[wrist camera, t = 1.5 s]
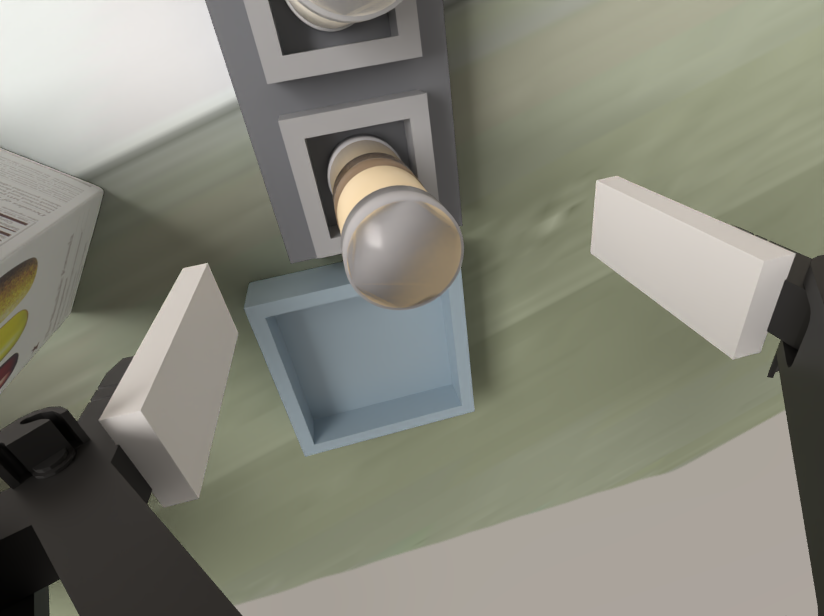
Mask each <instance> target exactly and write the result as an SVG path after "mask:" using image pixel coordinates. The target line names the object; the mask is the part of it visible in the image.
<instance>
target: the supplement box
mask: <svg viewBox="0 0 824 616" xmlns="http://www.w3.org/2000/svg"><path fill="white" fill-rule="evenodd" d="M103 193H104V192H103V189H102V188H100V187H98V186H96V185H93V184H91V183H89V182H86V181H84V180H81V179H79V178H76V177H73V176H71V175H68V174H66V173H63V172H61V171H58V170H56V169H53V168H50V167H48V166H45V165H43V164H40V163H38V162H35V161H33V160H30V159H27V158H25V157H22V156H20V155H17V154H15V153H12V152H9V151H7V150H4V149H2V148H0V394H1V393H2V391H3V390H4V389H5V388H6V387H7V386H8V384H9V383H10V382H11V381H12V380H13V379H14V378H15V376H16V375H17V374H18V373H19V372H20V371H21V370H22V369H23V367H24V366H25V365H26V364H27V363H28V362H29V361H30V359H31V358H32V357H33V356H34V355H35V354H36V353H37V351H38V350H39V349H40V348H41V347H42V346H43V345H44V343H45V342H46V341H47V340H48V339H49V338H50V337H51V335H52V334H53V333H54V332H55V331H56V330H57V329H58V327H59V326H60V325H61V324H62V323H63V322H64V321H65V319H66V318H67V317H68V316H69V315H70V313H71V310H72V307H73V303H74V299H75V296H76V292H77V289H78V285H79V282H80V278H81V274H82V271H83V267H84V263H85V260H86V256H87V252H88V249H89V245H90V242H91V238H92V235H93V231H94V227H95V224H96V220H97V216H98V213H99V209H100V205H101V201H102V197H103Z"/></svg>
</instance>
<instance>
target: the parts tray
mask: <svg viewBox="0 0 824 616" xmlns="http://www.w3.org/2000/svg"><path fill="white" fill-rule="evenodd" d="M244 310H245V313H246V315H247V318H248V320H249V322H250V325H251V327H252V330H253V332H254V334H255V337H256V339H257V342H258V344H259V347H260V349H261V351H262V354H263V356H264V359H265V361H266V363H267V366H268V368H269V371H270V373H271V376H272V378H273V380H274V383H275V385H276V388H277V390H278V392H279V395H280V397H281V400H282V402H283V404H284V407H285V409H286V412H287V414H288V417H289V419H290V421H291V424H292V426H293V429H294V431H295V433H296V436H297V438H298V441H299V443H300V446H301V448H302V450H303V453H304V455H305V457H306V456H309V455H313V454H317V453H321V452H324V451H328V450H332V449H335V448H339V447H343V446H347V445H350V444H354V443H358V442H362V441H365V440H369V439H373V438H376V437H380V436H384V435H388V434H391V433H395V432H399V431H403V430H406V429H410V428H414V427H417V426H421V425H425V424H429V423H432V422H436V421H440V420H444V419H447V418H451V417H455V416H458V415H462V414H466V413H470V412H473V411H475V410H474V400H473V389H472V379H471V368H470V358H469V347H468V337H467V326H466V316H465V305H464V295H463V284H462V274H461V268H460V271H459V273H458V275H457V277H456V279H455V280H454V282H453V283H452V284H451V286H450V287H449V288H448V289H447V290H446V291H445V292H444V293H443V294H442V295H441V296H439V297H438V298H436V299H435V300H433V301H432V302H430V303H428V304H426V305H423V306H421V307H417V308H414V309H409V310H389V309H384V308H381V307H378V306H375V305H373V304H371V303H369V302H368V301H366V300H365V299H363V298H362V297H361V296H360V295H359V294H358V293H357V292H356V291H355V290H354V288H353V287H352V285H351V284H350V282H349V280H348V278H347V275H346V272H345V267H344V262H339V263H335V264H330V265H326V266H321V267H317V268H313V269H308V270H304V271H299V272H295V273H290V274H286V275H281V276H277V277H272V278H268V279H263V280H259V281H255V282H250V283H249V286H248V291H247V295H246V300H245V304H244Z"/></svg>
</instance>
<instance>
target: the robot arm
mask: <svg viewBox="0 0 824 616" xmlns="http://www.w3.org/2000/svg"><path fill="white" fill-rule="evenodd" d="M590 253H591V254H593V255H594V256H595V257H597V258H598V259H599V260H601V261H602V262H603V263H605V264H606V265H607V266H609V267H610V268H611V269H613V270H614V271H615V272H617V273H618V274H619V275H621V276H622V277H623V278H625V279H626V280H627V281H629V282H630V283H631V284H633V285H634V286H635V287H637V288H638V289H639V290H641V291H642V292H643V293H645V294H646V295H647V296H649V297H650V298H651V299H653V300H654V301H655V302H657V303H658V304H659V305H661V306H662V307H663V308H665V309H666V310H667V311H669V312H670V313H671V314H673V315H674V316H675V317H677V318H678V319H679V320H681V321H682V322H683V323H685V324H686V325H687V326H689V327H690V328H691V329H693V330H694V331H695V332H697V333H698V334H699V335H701V336H702V337H703V338H705V339H706V340H707V341H709V342H710V343H711V344H713V345H714V346H715V347H717V348H718V349H719V350H721V351H722V352H723V353H725V354H726V355H727V356H729V357H730V358H731V359H737V358H741V357H745V356H748V355H752V354H756V353H760V352H761V349H762V347H763V344H764V341H765V338H766V335H767V333H768V332H769V333H771V334H773V335H774V336H776V337H777V338H779V339H780V340H781V341H780V343H779V346H778V349H777V351H776V354H775V357H774V359H773V362H772V364H771V367H770V370H769V373H768V376H767V377H770V378H773V376H774V374H775V372H778V371H779V373H780V379H781V385H782V391H783V397H784V403H785V409H786V415H787V422H788V428H789V434H790V440H791V446H792V452H793V457H794V464H795V470H796V476H797V482H798V488H799V495H800V501H801V506H802V513H803V519H804V525H805V531H806V537H807V543H808V549H809V555H810V561H811V567H812V574H813V579H814V586H815V592H816V598H817V604H818V616H824V255H821V256H817V257H815V258H813V259H811V258H809V257H806V256H804V255H802V254H799V253H797V252H795V251H793V250H790V249H788V248H786V247H783V246H781V245H779V244H776V243H774V242H772V241H767V239H765V238H762V237H760V236H758V235H755V236H754V234H753V233H751V232H749V231H746V230H744V229H742V228H739V227H737V226H732V225H729V224H727V223H724V222H722V221H720V220H717V219H715V218H713V217H710V216H708V215H706V214H704V213H701V212H699V211H697V210H694V209H692V208H690V207H687V206H685V205H683V204H681V203H678V202H676V201H674V200H671V199H669V198H667V197H665V196H662V195H660V194H658V193H655V192H653V191H651V190H648V189H646V188H644V187H642V186H639V185H637V184H635V183H632V182H630V181H628V180H625V179H623V178H621V177H619V176H614V177H609V178H605V179H600V180H596V190H595V203H594V215H593V227H592V240H591V252H590ZM237 337H238V331H237V329H236V326H235V324H234V322H233V320H232V317H231V315H230V313H229V310H228V308H227V306H226V304H225V301H224V299H223V297H222V294H221V292H220V290H219V288H218V285H217V283H216V281H215V278H214V276H213V274H212V272H211V269H210V267H209V265H208V263H205V264H200V265H196V266H191V267H186V268H183V269H182V271H181V273H180V274H179V276H178V278H177V280H176V282H175V283H174V285H173V287H172V289H171V291H170V292H169V294H168V296H167V298H166V300H165V301H164V303H163V305H162V307H161V309H160V310H159V312H158V314H157V316H156V318H155V320H154V321H153V323H152V325H151V327H150V329H149V330H148V332H147V334H146V336H145V338H144V339H143V341H142V343H141V345H140V347H139V348H138V350H137V352H136V354H135V356H132V357H127V358H123V359H122V360H121V361H120V362H118V363H117V364H116V365H115V366H114V367H113V368H112V369H111V370H110V371H109V372H107V374H106V375H105V377H104V378H103V380H102V382H101V383H100V385H99V387H98V390H97V391H96V392H95V393H94V395H93V397H92V398H91V402H90V403H88V405H87V406H86V408H85V410H84V411H83V413H82V415H81V416H80V418H79V420H78V421H76V420H75V419H74V417H73V416H72V415H71V413H70V412H69V411H68V410H67V409H65V408H63V407H47V408H44V409H41V410H37V411H34V412H32V413H30V414H27V415H25V416H23V417H21V418H19V419H17V420H16V421H14V422H13V423H11V424H10V425H8V426H6V427H5V428H3V429H2V430H1V431H0V477H1V478H2V479H3V480H4V481H5V482H6V483H7V484H8V485H9V486H10V487H11V488H9V489H7V490H5V491H3V492H0V616H49V585H50V584H52V583H54V582H56V581H57V580H59V579H60V580H61V581H62V583H63V585H64V587H65V589H66V591H67V593H68V595H69V597H70V599H71V600H72V602H73V604H74V606H75V608H76V610H77V612H78V614H79V616H242V615H241V614H240V612H239V611H238V610H237V609H236V608H235V607H234V605H233V604H232V603H231V602H230V601H229V600H228V598H227V597H226V596H225V595H224V594H223V593H222V591H221V590H220V589H219V588H218V587H217V586H216V585H215V583H214V582H213V581H212V580H211V579H210V578H209V576H208V575H207V574H206V573H205V572H204V571H203V569H202V568H201V567H200V566H199V565H198V564H197V562H196V561H195V560H194V559H193V558H192V557H191V555H190V554H189V553H188V552H187V551H186V550H185V548H184V547H183V546H182V545H181V544H180V543H179V541H178V540H177V539H176V538H175V537H174V536H173V534H172V533H171V532H170V531H169V530H168V529H167V527H166V526H165V525H164V524H163V523H162V522H161V520H160V519H159V518H158V517H157V516H156V515H155V513H154V512H153V511H152V510H151V509H150V508H149V507H148V505H147V503H148V500H149V497H150V495H151V492H152V493H153V494H154V496H155V497H156V498H157V500H158V501H159V502H160V504H161V505H162V506H163V508H165V507H168V506H172V505H176V504H180V503H184V502H188V501H192V500H195V499H199V496H200V492H201V487H202V483H203V479H204V475H205V471H206V467H207V462H208V458H209V454H210V450H211V446H212V442H213V437H214V433H215V429H216V425H217V421H218V417H219V412H220V408H221V404H222V400H223V396H224V392H225V387H226V383H227V379H228V375H229V371H230V367H231V362H232V358H233V354H234V350H235V346H236V342H237Z"/></svg>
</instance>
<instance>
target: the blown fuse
mask: <svg viewBox="0 0 824 616" xmlns="http://www.w3.org/2000/svg"><path fill="white" fill-rule="evenodd" d="M327 179H328V184H329V188H330V191H331V193H332V196H333V204H334V209H335V214H336V219H337V224H338V227H339V229H340V233H341V251H342V257H343V262H344V267H345V272H346V275H347V278H348V280H349V282H350V284H351V285H352V287H353V288H354V290H355V291H356V292H357V293H358V294H359V295H360V296H361V297H362V298H363V299H365V300H366V301H368V302H369V303H371V304H373V305H375V306H378V307H381V308H384V309H389V310H409V309H414V308H417V307H421V306H423V305H426V304H428V303H430V302H432V301H433V300H435V299H436V298H438V297H439V296H441V295H442V294H443V293H444V292H445V291H446V290H447V289H448V288H449V287H450V286H451V284H452V283H453V282H454V280H455V279H456V277H457V275H458V273H459V271H460V268H461V265H462V261H463V256H464V242H463V236H462V233H461V230H460V228H459V226H458V224H457V222H456V221H455V219H454V218H453V216H452V215H451V214H450V213H449V212H448V211H447V210H446V209H445V207H444V206H443V205H442V204H441V203H440V202H439V201H438V200H437V199H436V198H435V197H434V196H433V195H431V194H429V193H428V192H427V191H426V190H425V188H424V186H423V185H422V183H421V182H420V181H419V179H418V178H417V177H416V176H415V175H414V174H413V173H412V171H411V170H410V169H409V168H408V167H407V166H406V165H405V164H404V163H403V162H402V161H401V159H400V157H399V156H398V154H397V153H396V151H395V150H394V149H393V148H392V147H391V146H390V145H389V144H388V143H387V142H386V141H385V140H383V139H382V138H380V137H378V136H375V135H372V134H366V133H361V134H355V135H351V136H349V137H346V138H345V139H343V140H342V141H340V142H339V143H338V144H337V145H336V146H335V148H334V149H333V150H332V152H331V154H330V156H329V159H328V163H327Z"/></svg>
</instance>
